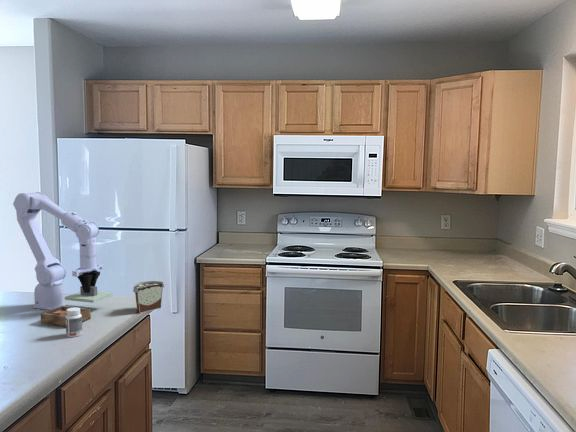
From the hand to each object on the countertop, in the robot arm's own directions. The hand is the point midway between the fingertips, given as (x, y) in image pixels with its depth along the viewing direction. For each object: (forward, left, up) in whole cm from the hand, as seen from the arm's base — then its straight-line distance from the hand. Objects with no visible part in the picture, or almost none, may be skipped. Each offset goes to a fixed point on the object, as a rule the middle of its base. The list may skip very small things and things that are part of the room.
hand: (88, 291), depth 179 cm
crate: (+2, -14, -7) cm, 16 cm away
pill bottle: (+14, -24, -7) cm, 29 cm away
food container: (+19, +8, -7) cm, 22 cm away
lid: (0, 0, -2) cm, 2 cm away
